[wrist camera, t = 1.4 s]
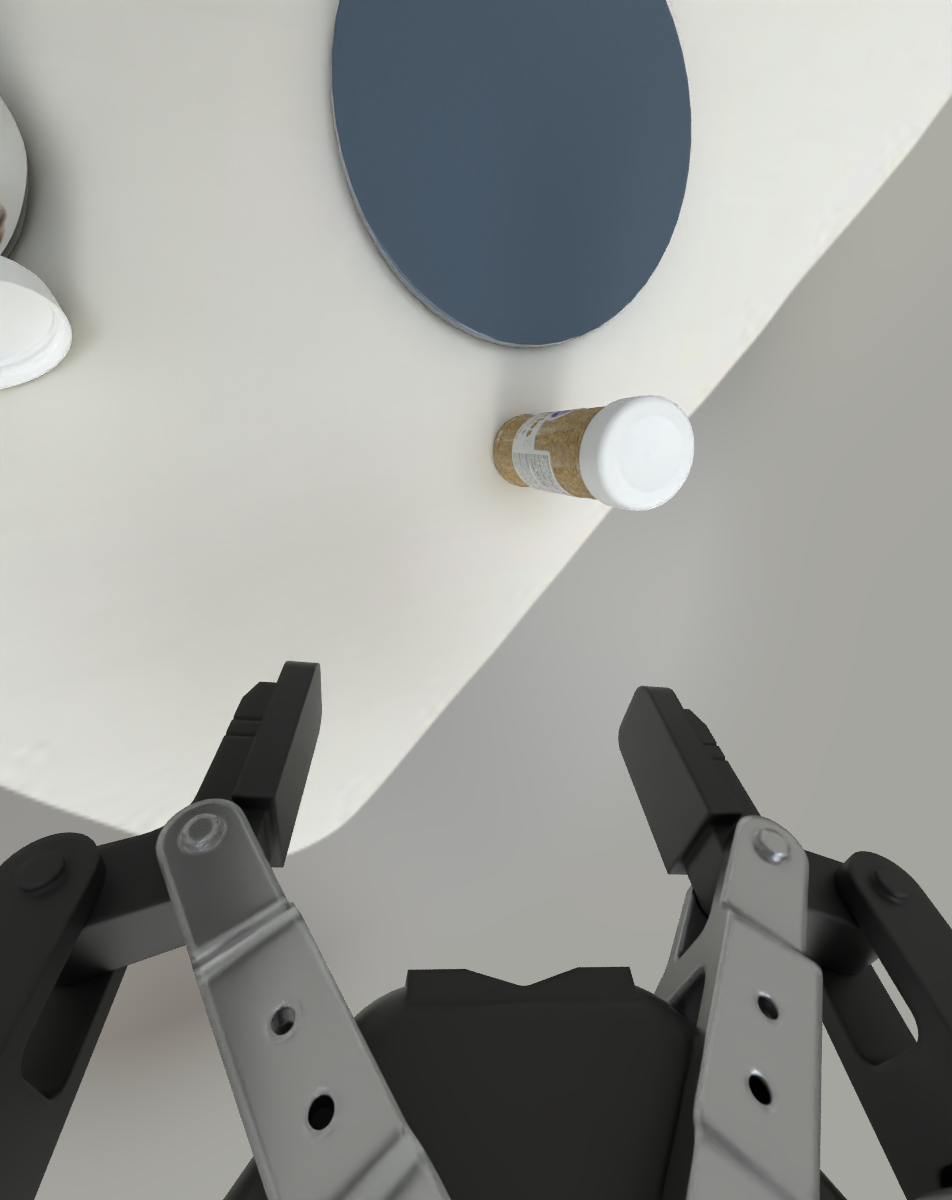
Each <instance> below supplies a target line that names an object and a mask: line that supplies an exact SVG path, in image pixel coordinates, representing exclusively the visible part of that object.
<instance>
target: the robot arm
mask: <svg viewBox="0 0 952 1200" xmlns="http://www.w3.org/2000/svg"><path fill="white" fill-rule="evenodd" d="M321 715H322V701H321V673H320V664H319V663H309V662H295V661H286V662H285V664H284V666H283V669H282V671H281V673H280V676H279V678H278V681H277V683H274V682H259V683H258V684H257V685H256V686H254V687H253V688H252V689H251V690H250V691H249V692H248V693H247V694H246V695H245V696H244V697H243V698H242V700H241V702H240V704H239V706H238V708H237V710H236V712H235V715H234V719H233V720H232V721H231V723H230V725H229V727H228V729H227V733H226V736H224V738H223V740H222V742H221V744H220V746H219V748H218V751H217V753H216V755H215V757H214V759H213V761H212V763H211V765H210V768H209V770H208V772H207V774H206V776H205V778H204V780H203V782H202V784H201V787H200V789H199V791H198V793H197V795H196V797H195V798H194V800H193V801H192V803H191V804H190V805H189V806H187V807H185V808H184V809H182V810H181V811H179V812H178V813H176V814H175V815H174V816H173V817H172V818H171V819H170V820H169V821H168V822H167V823H166V824H165V826H163V827H161V828H159V829H156V830H154V831H152V832H149V833H146V834H142V835H139V836H135V837H131V838H127V839H123V840H119V841H115V842H111V843H107V844H103V845H100V846H96V844H95V843H94V841H93V840H92V839H90V838H89V837H88V836H85V835H83V834H79V833H69V832H68V833H59V834H54V835H50V836H47V837H44V838H41V839H39V840H37V841H35V842H32V843H30V844H29V845H27V846H25V847H23V848H22V849H20V850H19V851H17V852H16V853H14V854H13V855H12V856H11V857H9V858H8V859H7V860H6V861H5V862H4V863H3V864H2V865H1V866H0V1200H34V1199H35V1196H36V1194H37V1191H38V1189H39V1186H40V1183H41V1181H42V1179H43V1176H44V1173H45V1171H46V1169H47V1166H48V1163H49V1161H50V1158H51V1156H52V1154H53V1151H54V1148H55V1146H56V1144H57V1141H58V1138H59V1136H60V1133H61V1131H62V1129H63V1126H64V1123H65V1121H66V1118H67V1116H68V1113H69V1111H70V1108H71V1106H72V1103H73V1101H74V1098H75V1095H76V1093H77V1091H78V1088H79V1086H80V1083H81V1081H82V1078H83V1076H84V1073H85V1071H86V1068H87V1066H88V1063H89V1061H90V1058H91V1056H92V1053H93V1051H94V1048H95V1046H96V1043H97V1041H98V1038H99V1036H100V1033H101V1031H102V1028H103V1026H104V1023H105V1021H106V1018H107V1016H108V1013H109V1011H110V1008H111V1006H112V1003H113V1001H114V998H115V996H116V993H117V991H118V988H119V986H120V983H121V981H122V978H123V976H124V973H125V971H126V968H127V966H128V965H130V964H133V963H135V962H138V961H141V960H144V959H147V958H150V957H153V956H156V955H158V954H161V953H164V952H167V951H170V950H173V949H176V948H179V947H182V946H185V945H186V948H187V951H188V954H189V956H190V960H191V963H192V967H193V972H194V975H195V978H196V981H197V984H198V988H199V991H200V994H201V997H202V1000H203V1003H204V1006H205V1009H206V1012H207V1015H208V1018H209V1021H210V1024H211V1027H212V1030H213V1033H214V1036H215V1039H216V1042H217V1046H218V1049H219V1051H220V1055H221V1058H222V1061H223V1064H224V1067H225V1070H226V1073H227V1076H228V1079H229V1082H230V1085H231V1088H232V1091H233V1093H234V1097H235V1100H236V1103H237V1106H238V1109H239V1113H240V1116H241V1118H242V1121H243V1125H244V1128H245V1131H246V1134H247V1137H248V1140H249V1143H250V1146H251V1149H252V1152H253V1155H254V1156H253V1158H252V1159H251V1161H250V1162H249V1163H248V1165H247V1166H246V1168H245V1169H244V1171H243V1172H242V1173H241V1175H240V1177H239V1178H238V1179H237V1181H236V1182H235V1184H234V1185H233V1186H232V1188H231V1189H230V1191H229V1192H228V1194H227V1195H226V1196H225V1198H224V1199H223V1200H847V1199H846V1198H845V1197H844V1196H843V1195H842V1193H841V1192H840V1191H839V1190H838V1189H837V1188H836V1187H835V1186H834V1184H833V1183H832V1182H831V1181H830V1180H829V1179H828V1178H827V1177H826V1176H825V1174H824V1173H823V1172H822V1171H821V1170H820V1129H821V1062H822V1061H821V1060H822V1058H821V1057H822V1022H823V1024H824V1026H825V1028H826V1030H827V1032H828V1034H829V1036H830V1038H831V1041H832V1043H833V1045H834V1047H835V1049H836V1051H837V1053H838V1055H839V1057H840V1059H841V1062H842V1064H843V1066H844V1068H845V1070H846V1072H847V1074H848V1076H849V1079H850V1081H851V1083H852V1085H853V1087H854V1089H855V1091H856V1093H857V1095H858V1097H859V1100H860V1102H861V1104H862V1106H863V1108H864V1110H865V1112H866V1114H867V1117H868V1119H869V1121H870V1123H871V1125H872V1127H873V1129H874V1131H875V1133H876V1135H877V1138H878V1140H879V1142H880V1144H881V1146H882V1148H883V1150H884V1152H885V1154H886V1156H887V1159H888V1161H889V1163H890V1165H891V1167H892V1169H893V1171H894V1173H895V1175H896V1178H897V1180H898V1182H899V1184H900V1186H901V1188H902V1190H903V1192H904V1194H905V1196H906V1199H907V1200H952V929H951V928H950V926H949V925H948V924H947V923H946V921H945V920H944V918H943V917H942V916H941V914H940V913H939V911H938V910H937V909H936V908H935V906H934V905H933V903H932V902H931V901H930V899H929V898H928V897H927V895H926V894H925V893H924V891H923V890H922V889H921V888H920V886H919V885H918V884H917V883H916V881H915V880H914V879H913V878H912V877H911V876H910V875H909V874H908V873H906V872H905V871H904V870H903V869H902V868H900V867H899V866H898V865H896V864H895V863H893V862H892V861H890V860H888V859H886V858H884V857H882V856H880V855H878V854H875V853H872V852H866V851H860V852H856V853H854V854H853V855H852V856H851V857H849V858H848V860H846V861H845V862H844V863H842V862H839V861H836V860H833V859H830V858H827V857H824V856H821V855H818V854H815V853H812V852H809V851H806V850H804V849H803V848H802V846H801V845H800V844H799V842H798V841H797V839H796V838H795V837H794V836H793V835H792V834H791V833H790V832H788V831H787V830H786V829H784V828H783V827H782V826H780V825H779V824H777V823H776V822H774V821H772V820H770V819H768V818H765V817H761V816H760V814H759V812H758V811H757V809H756V807H755V806H754V804H753V803H752V801H751V799H750V797H749V796H748V794H747V793H746V791H745V789H744V787H743V786H742V784H741V783H740V781H739V779H738V778H737V776H736V774H735V773H734V771H733V770H732V768H731V766H730V765H729V763H728V761H725V756H724V754H723V753H722V751H721V749H720V748H719V746H717V745H716V741H715V739H714V738H713V736H712V734H711V733H710V731H709V729H708V728H707V726H706V725H705V724H704V723H703V722H702V721H701V720H700V719H699V718H698V717H697V716H696V715H695V714H694V713H693V712H692V711H691V710H689V709H683V707H682V705H681V704H680V702H679V700H678V698H677V697H676V695H675V693H674V692H673V690H671V689H670V688H663V687H648V686H640V687H638V688H637V690H636V691H635V693H634V696H633V698H632V700H631V703H630V705H629V707H628V709H627V712H626V714H625V716H624V718H623V721H622V723H621V726H620V729H619V737H618V740H619V747H620V751H621V753H622V756H623V759H624V761H625V764H626V766H627V769H628V772H629V774H630V777H631V779H632V782H633V785H634V787H635V789H636V792H637V795H638V798H639V800H640V803H641V805H642V808H643V810H644V813H645V816H646V818H647V821H648V823H649V826H650V829H651V831H652V834H653V836H654V839H655V841H656V844H657V847H658V849H659V852H660V854H661V857H662V860H663V862H664V865H665V867H666V870H667V873H668V874H686V875H688V877H689V879H690V882H691V884H692V885H691V886H690V888H689V889H688V891H687V893H686V897H685V901H684V904H683V908H682V912H681V916H680V919H679V923H678V927H677V931H676V934H675V938H674V942H673V945H672V949H671V953H670V957H669V960H668V964H667V967H666V969H665V972H664V974H663V977H662V978H661V980H660V982H659V984H658V986H657V989H656V991H655V993H654V994H653V993H651V992H649V991H646V990H644V989H642V988H640V987H638V986H635V985H634V982H633V979H632V974H631V971H630V968H629V967H582V968H581V967H579V968H575V969H572V970H570V971H567V972H564V973H561V974H558V975H556V976H553V977H550V978H548V979H545V980H542V981H539V982H537V983H534V984H532V985H528V986H520V985H516V984H513V983H509V982H506V981H503V980H499V979H496V978H493V977H489V976H486V975H483V974H480V973H476V972H473V971H470V970H466V969H437V970H436V969H434V970H408V973H407V979H406V985H405V987H403V988H400V989H397V990H394V991H392V992H390V993H388V994H386V995H384V996H382V997H380V998H379V999H377V1000H375V1001H374V1002H372V1003H371V1004H370V1005H368V1006H367V1007H365V1008H364V1009H363V1010H362V1011H361V1012H360V1013H359V1014H357V1015H356V1016H355V1017H354V1018H353V1016H352V1014H351V1012H350V1010H349V1008H348V1006H347V1004H346V1002H345V1000H344V998H343V996H342V994H341V992H340V990H339V988H338V986H337V984H336V982H335V980H334V978H333V976H332V974H331V972H330V970H329V968H328V966H327V964H326V962H325V960H324V958H323V956H322V954H321V952H320V950H319V948H318V946H317V945H316V942H315V940H314V938H313V937H312V935H311V933H310V930H309V928H308V927H307V924H306V923H305V921H304V919H303V917H302V915H301V913H300V912H299V910H298V908H297V907H296V906H295V905H294V903H292V902H291V903H290V902H289V901H288V900H287V898H286V896H285V895H284V893H283V891H282V889H281V887H280V885H279V883H278V881H277V879H276V877H275V875H274V873H273V871H272V869H271V867H283V866H284V863H285V859H286V855H287V851H288V848H289V844H290V840H291V836H292V832H293V829H294V825H295V821H296V817H297V814H298V810H299V806H300V802H301V799H302V795H303V791H304V787H305V784H306V780H307V776H308V772H309V769H310V765H311V761H312V757H313V754H314V750H315V746H316V742H317V738H318V735H319V730H320V724H321ZM878 958H879V959H880V961H881V962H882V964H883V966H884V967H885V969H886V971H887V972H888V974H889V976H890V977H891V979H892V981H893V982H894V984H895V986H896V987H897V989H898V991H899V992H900V994H901V996H902V997H903V999H904V1000H905V1002H906V1004H907V1005H908V1007H909V1009H910V1010H911V1012H912V1014H913V1016H914V1018H915V1021H916V1024H917V1027H918V1035H919V1036H918V1041H917V1042H916V1040H915V1039H914V1037H913V1035H912V1034H911V1032H910V1030H909V1029H908V1027H907V1025H906V1024H905V1022H904V1020H903V1018H902V1017H901V1015H900V1013H899V1012H898V1010H897V1008H896V1006H895V1005H894V1003H893V1001H892V1000H891V998H890V996H889V994H888V993H887V991H886V989H885V988H884V986H883V984H882V983H881V981H880V979H879V977H878V976H877V974H876V972H875V971H874V969H873V967H872V965H871V963H873V962H874V961H875V960H877V959H878Z"/></svg>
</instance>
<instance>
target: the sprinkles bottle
mask: <svg viewBox="0 0 952 1200" xmlns="http://www.w3.org/2000/svg"><path fill="white" fill-rule="evenodd" d="M693 456H694V436H693V431H692V428H691V424H690V422H689V420H688V418H687V416H686V414H685V413H684V412H683V410H682V409H681V408H680V407H679V406H678V405H677V404H675V403H674V402H672V401H670V400H668V399H666V398H663V397H660V396H638V397H631V398H625V399H620V400H617V401H615V402H612V403H610V404H609V405H607V406H605V407H596V408H589V409H586V408H581V409H573V410H566V411H558V412H548V413H542V414H538V415H531V414H523V415H520V416H516V417H514V418H512V419H511V420H509V421H508V422H507V423H506V424H505V425H504V426H503V427H502V428H501V430H500V431H499V433H498V435H497V438H496V440H495V444H494V459H495V465H496V467H497V469H498V470H499V472H500V474H501V475H502V476H503V478H504V479H505V480H507V481H508V482H510V483H511V484H514V485H517V486H521V487H529V486H531V487H533V488H536V489H540V490H544V491H549V492H554V493H559V494H564V495H569V496H574V497H580V498H591V499H597V500H599V501H600V502H602V503H604V504H606V505H609V506H613V507H616V508H621V509H628V510H634V511H643V510H649V509H653V508H655V507H658V506H660V505H662V504H663V503H665V502H667V501H668V500H669V499H670V498H672V497H673V496H674V495H675V493H677V492H678V490H679V489H680V488H681V486H682V485H683V484H684V482H685V480H686V478H687V476H688V474H689V471H690V468H691V465H692V462H693Z"/></svg>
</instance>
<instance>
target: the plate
mask: <svg viewBox="0 0 952 1200" xmlns="http://www.w3.org/2000/svg"><path fill="white" fill-rule="evenodd" d="M331 98H332V108H333V118H334V127H335V134H336V139H337V144H338V149H339V153H340V158H341V163H342V167H343V170H344V173H345V176H346V179H347V183H348V186H349V189H350V192H351V195H352V198H353V200H354V202H355V205H356V207H357V209H358V212H359V214H360V216H361V219H362V221H363V223H364V225H365V227H366V229H367V231H368V233H369V234H370V236H371V238H372V240H373V241H374V243H375V245H376V247H377V249H378V250H379V252H380V254H381V255H382V256H383V258H384V259H385V261H386V262H387V263H388V265H389V266H390V267H391V269H392V270H393V272H394V273H395V274H396V276H397V277H398V278H399V279H400V280H401V281H402V283H403V284H404V285H405V286H406V287H407V288H408V289H409V290H410V291H411V293H412V294H413V295H414V296H415V297H416V298H417V299H419V300H420V301H421V302H422V303H423V304H424V305H425V306H427V307H428V308H429V309H430V310H431V311H432V312H433V313H435V314H436V315H438V316H439V317H441V318H442V319H444V320H445V321H447V322H448V323H450V324H451V325H453V326H454V327H456V328H458V329H460V330H462V331H464V332H466V333H468V334H470V335H472V336H474V337H477V338H480V339H483V340H486V341H489V342H492V343H495V344H500V345H506V346H512V347H542V346H549V345H556V344H559V343H562V342H565V341H569V340H572V339H575V338H577V337H580V336H582V335H584V334H586V333H588V332H590V331H592V330H594V329H596V328H598V327H600V326H601V325H603V324H604V323H605V322H607V321H608V320H610V319H611V318H613V317H614V316H616V315H617V314H618V313H619V312H620V311H621V310H622V309H623V308H624V307H625V306H626V305H628V304H629V303H630V302H631V301H632V300H633V298H634V297H635V296H636V295H637V294H638V292H639V291H640V290H641V289H642V288H643V287H644V285H645V284H646V282H647V281H648V279H649V278H650V276H651V275H652V273H653V272H654V270H655V269H656V267H657V266H658V264H659V262H660V260H661V258H662V256H663V254H664V252H665V250H666V248H667V246H668V244H669V242H670V239H671V236H672V234H673V231H674V228H675V226H676V223H677V220H678V217H679V213H680V209H681V206H682V202H683V198H684V194H685V188H686V182H687V177H688V171H689V161H690V148H691V108H690V98H689V87H688V79H687V74H686V69H685V63H684V58H683V53H682V49H681V45H680V42H679V38H678V35H677V31H676V27H675V24H674V21H673V18H672V16H671V13H670V10H669V8H668V5H667V3H666V0H340V2H339V6H338V10H337V14H336V21H335V29H334V38H333V47H332V84H331Z"/></svg>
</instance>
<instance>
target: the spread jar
mask: <svg viewBox="0 0 952 1200" xmlns="http://www.w3.org/2000/svg"><path fill="white" fill-rule="evenodd" d="M28 180H29V178H28V165H27V157H26V151H25V146H24V141H23V139H22V136H21V134H20V131H19V129H18V127H17V124H16V122H15V120H14V118H13V116H12V114H11V113H10V111H9V109H8V108H7V106H6V104H5V103H4V101H3V100H2V98H1V97H0V389H3V388H7V387H12V386H16V385H19V384H22V383H25V382H28V381H31V380H33V379H35V378H37V377H39V376H41V375H43V374H45V373H47V372H48V371H50V370H51V369H53V368H54V367H55V366H56V365H57V364H58V363H59V362H60V361H61V360H62V359H63V358H64V357H65V356H66V354H67V352H68V351H69V349H70V346H71V342H72V328H71V326H70V323H69V321H68V318H67V317H66V315H65V313H64V312H63V310H62V309H61V307H60V306H59V304H58V302H57V301H56V299H55V298H54V296H53V295H52V293H51V292H50V290H49V289H48V288H47V286H46V285H45V284H44V282H43V281H42V280H41V279H39V278H38V277H37V276H36V275H35V274H34V273H32V272H31V271H30V270H28V269H27V268H25V267H23V266H22V265H20V264H18V263H16V262H15V261H13V260H10V259H8V258H7V257H8V255H9V254H10V252H11V251H12V249H13V248H14V246H15V244H16V242H17V240H18V237H19V235H20V232H21V230H22V226H23V222H24V218H25V212H26V204H27V196H28Z"/></svg>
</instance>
